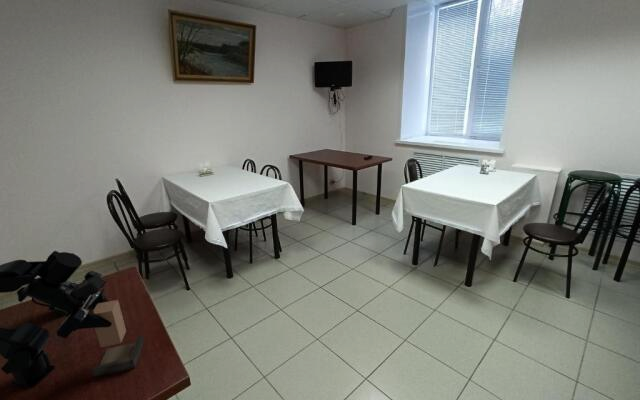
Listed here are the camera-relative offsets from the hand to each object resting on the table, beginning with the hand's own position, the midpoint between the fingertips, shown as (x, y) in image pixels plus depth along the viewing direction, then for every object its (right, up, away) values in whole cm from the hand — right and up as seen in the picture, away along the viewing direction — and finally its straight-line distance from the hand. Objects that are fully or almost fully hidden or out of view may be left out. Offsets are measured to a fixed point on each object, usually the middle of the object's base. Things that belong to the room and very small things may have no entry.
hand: (114, 318), depth 84 cm
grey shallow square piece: (-1, -13, +4) cm, 13 cm away
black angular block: (-36, -7, +24) cm, 44 cm away
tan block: (-1, -6, +2) cm, 7 cm away
